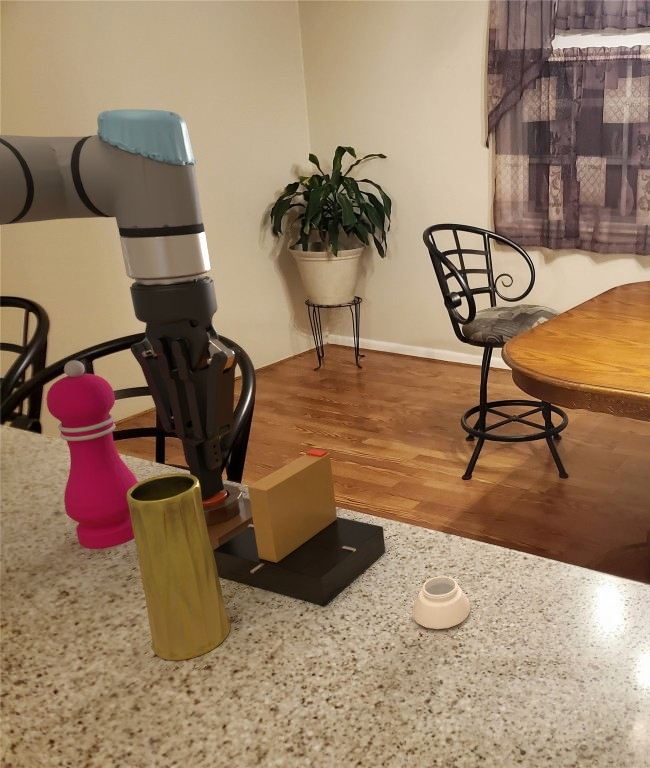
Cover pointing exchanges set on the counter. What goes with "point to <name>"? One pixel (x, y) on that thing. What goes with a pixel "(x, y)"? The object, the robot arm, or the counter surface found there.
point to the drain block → (228, 517)
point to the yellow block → (292, 505)
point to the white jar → (440, 604)
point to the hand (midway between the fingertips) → (209, 493)
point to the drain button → (215, 498)
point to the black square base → (305, 561)
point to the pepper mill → (92, 458)
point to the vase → (177, 567)
